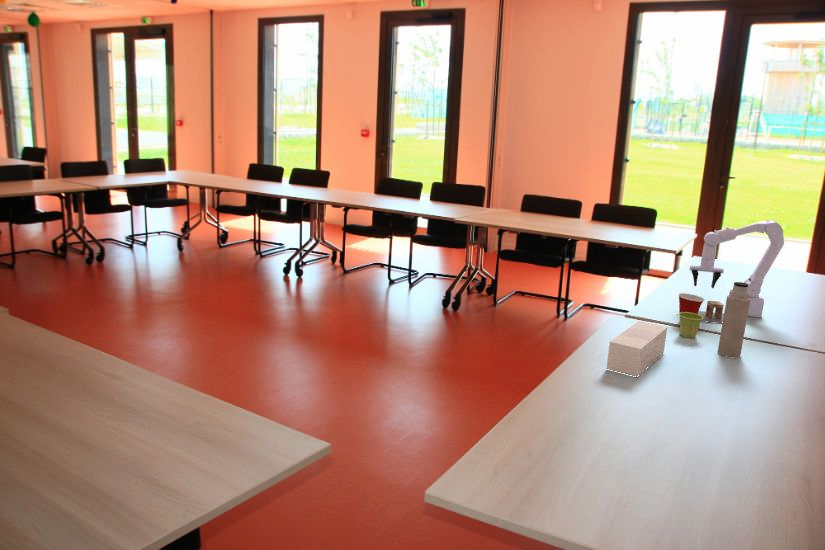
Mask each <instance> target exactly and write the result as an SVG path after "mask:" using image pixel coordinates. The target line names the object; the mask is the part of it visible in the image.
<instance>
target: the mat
mask: <svg viewBox="0 0 825 550" xmlns="http://www.w3.org/2000/svg"><path fill="white" fill-rule="evenodd" d="M705 314H706V311H703V310H699V312H698V315H701V316H702V317H703V319H702V321H708V322H707V323H711V322H718V323H717V324H720V323H722V322H723V317H724V312H722V318H721V319H718V316H714V315H715V312H713V316H712V318H708V317H709V316H706V315H705ZM702 321H701V322H702Z"/></svg>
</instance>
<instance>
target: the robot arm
mask: <svg viewBox="0 0 825 550" xmlns="http://www.w3.org/2000/svg"><path fill="white" fill-rule="evenodd" d="M713 231H714V232H713ZM713 231H709V232H707V233H706V234H704V236H703V241H704V244H703V248H702V253H701V260H700V265H689V271H691V275H692V278H693V286H694V287H697V284H698V277H699V272H706V273H712V281H711V285H710V287H711V288H712V289H714V288H715V285H716V284H717V282H718V280H719V279H720V278H721V276H722V274H724V271H725V269H724V268H722V267H721V268H720V267H715V262H716V254H717V247H718V245H719V244H721V243H725V242H729V241H734V240H736V239H737V237H738V236H742V235H747V234H752V233H755V232H756V233H760V234H766V236H767V237H768V239H769V242H770V243H769V245H768V247H767V249H766V251H764V253H763V256H762V257H761V259H760V261H759V262H758V264H757V266H756V268H755V269H754V271H753V272H752V274H751V275H749V277H748V279H746V280H745V281H743V283H746V284H748V287H747V288H748V289H747V292H748V293H749V299H750V304H749V310H748V316H747V317H753V318H754V317H755V318H762V317H763V312H764V311H763V310H764V305H765V298H764V297H763V296H760V294H761V289H762V286H763V284H764V279H765V277H766V276H767V274H768V272H769V271H770V269H771V267H772V265H773V264H774V262H775V260H776V259H777V257H778V255H779V253H780V252H781V250H782V249H783V246H784V245H785V241H784V240H785V238H784V230H783V228H782V226H781V224H780V223H778V222H777V221H776V220H775V219H768V220H760V221H757V222H754V223H750V224H747V225H744V226H740V227H738V228H737V227H736V228H734V227H732V226H731V227H729V226H725V227H724V228H723V229H719V230H716V229H715V230H713Z"/></svg>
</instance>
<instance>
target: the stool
mask: <svg viewBox="0 0 825 550" xmlns="http://www.w3.org/2000/svg"><path fill="white" fill-rule="evenodd" d="M724 306H725V305H724V304H723V302H721V301H717V300H714V301H713V300H707V302H706V309H705V312H706V314H705V315H706V316H709V317H708V318H712V316H713V313H715V315H714V316H718V319H721V318H722V313H724V311H723V310H724ZM714 309H715V311H714Z"/></svg>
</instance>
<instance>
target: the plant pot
mask: <svg viewBox="0 0 825 550" xmlns="http://www.w3.org/2000/svg"><path fill="white" fill-rule="evenodd" d="M678 316H679V335H680V336H681V337H683V338H687V339H691V338H693V339H694V338H696V337H697V335H698V330H699V327H700V324H701V322H702V319H703V317H702V316H701V315H698V314H695V313H690V312H681V313H678Z"/></svg>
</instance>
